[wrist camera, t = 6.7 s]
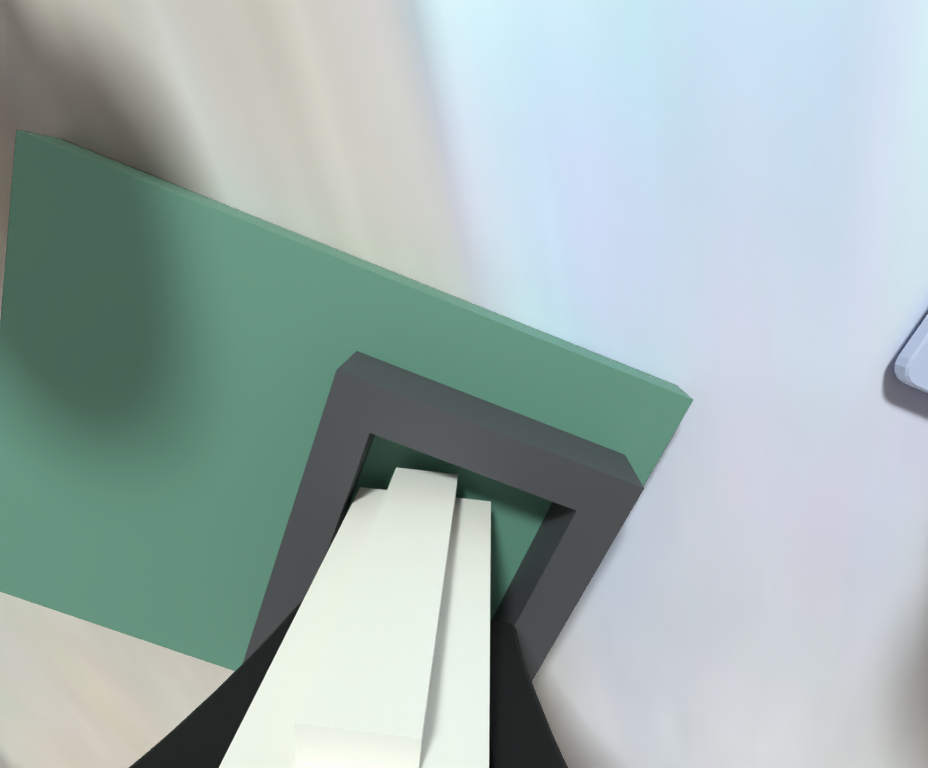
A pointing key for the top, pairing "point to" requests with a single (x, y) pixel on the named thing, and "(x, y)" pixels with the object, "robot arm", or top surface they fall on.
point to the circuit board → (274, 415)
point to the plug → (385, 641)
